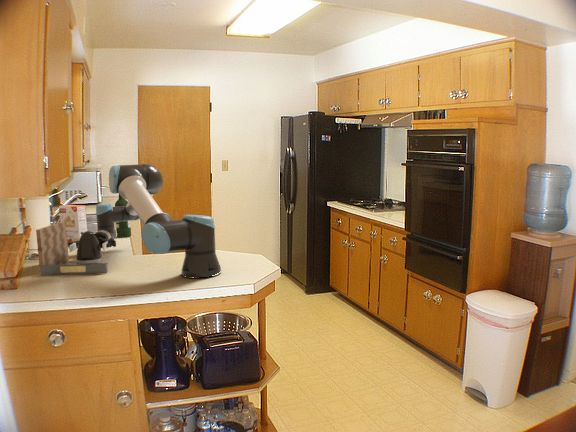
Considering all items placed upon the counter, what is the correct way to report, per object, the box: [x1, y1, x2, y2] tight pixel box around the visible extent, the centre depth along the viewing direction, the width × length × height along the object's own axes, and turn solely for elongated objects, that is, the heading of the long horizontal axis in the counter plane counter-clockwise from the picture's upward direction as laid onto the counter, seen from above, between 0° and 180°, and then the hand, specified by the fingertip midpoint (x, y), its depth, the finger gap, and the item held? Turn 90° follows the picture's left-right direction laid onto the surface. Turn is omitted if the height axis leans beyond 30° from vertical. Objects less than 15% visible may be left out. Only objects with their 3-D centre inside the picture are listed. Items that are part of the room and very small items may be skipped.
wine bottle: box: [114, 193, 132, 239], centre depth 289 cm, size 8×8×30 cm
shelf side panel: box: [35, 221, 70, 275], centre depth 216 cm, size 24×2×18 cm, turn 0°
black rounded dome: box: [76, 230, 103, 264], centre depth 216 cm, size 10×10×15 cm
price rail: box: [39, 262, 109, 276], centre depth 202 cm, size 2×26×4 cm, turn 91°
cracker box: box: [58, 204, 88, 245], centre depth 270 cm, size 14×6×21 cm, turn 62°
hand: (86, 248), depth 214 cm, fingers open, 13 cm apart
